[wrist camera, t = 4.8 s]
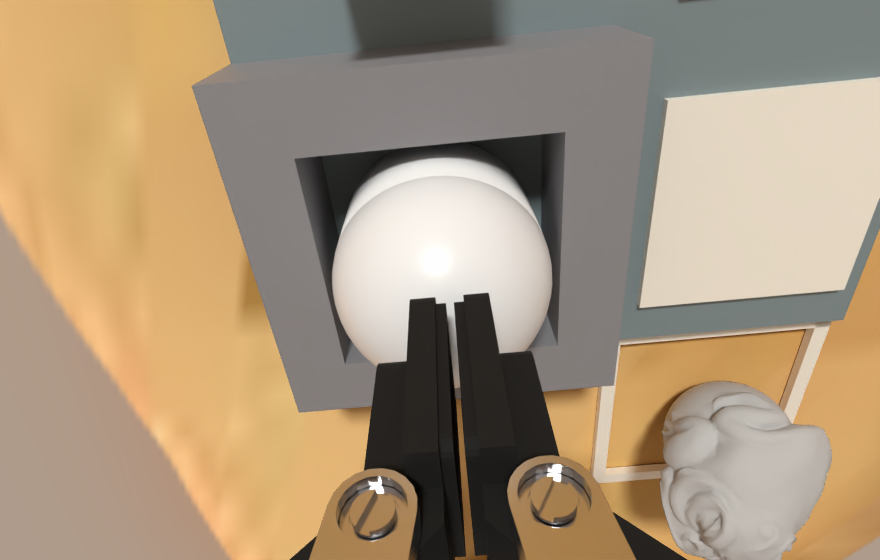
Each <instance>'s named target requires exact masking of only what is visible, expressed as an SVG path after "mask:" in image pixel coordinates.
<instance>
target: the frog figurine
mask: <svg viewBox="0 0 880 560" xmlns="http://www.w3.org/2000/svg"><path fill="white" fill-rule="evenodd" d="M661 431H662V435H663V443H664V447H663V458H664V461H665V462H666V463H667V466H666V467H664V468H663V469H661V470H660V473H661V477H662V479H661V480H660V481H659V483H660V489H661V501H662V506H663V509H664V512H665V516H666V519H667V523H668V526H669V528H670V531H671V534H672V537H673V539H674V541H675V543H676V545H677V546H678V547H679V548H680V549H681V550H682V551H684V552H685V553H687V554H690V555H693V556H698V557H702V558H704V559H707V560H781V559H782V553H783V552H784V551H789V552H790V550H791V549H792V546H793V545H792V544H793V543H794V542H795V541H796V539H797V538H796V537H795V535H794V534H796V533H797V532H798V530H800V529H801V527H802V526H804V525H805V523H806V522H807V520H808V519H809V518H810V514H811V512H812V510H813V508H814V506H815V504H816V503H817V501H818V500H819V498H820V497H821V493H822V492H823V489H824V485H825V481H826V478H827V473H828V471H829V469H830V465H831V461H832V450H831V446H830V442H829V439H828V437H827V435H826V433H825V431H824V429H822V428H820V427H817V426H814V425H797V424H792V423H791V421H790V420H789V418H788V416H787V415H786V414H785V412H784V411H783V410H782V409H781V407H780V406H779V405H778V404H776V403H775V402H774V401H773V400H772V399H771V398H769V397H768V396H767V395H765V394H764V393H762V392H760V391H758V390H757V389H755V388H752V387H750V386H747V385H745V384H741V383H736V382H731V381H712V382H706V383H702V384H699V385H696V386H694V387H692V388H690V389H688V390H687V391H685V392H684V393H683V394H681V395H680V396H679V397H678V398H677V399H676V400H675V401H674V403H673V404H672V405H671V407H670V409H669V410H668V413H667V415H666V418H665V421H664V426H663V430H661Z"/></svg>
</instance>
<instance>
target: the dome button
mask: <svg viewBox="0 0 880 560" xmlns="http://www.w3.org/2000/svg"><path fill="white" fill-rule="evenodd" d="M332 288H333V296H334V302H335V306H336V309H337V312H338V315H339V318H340V321H341V323H342V325H343V327H344V329H345V331H346V333H347V335H348V336H349V338H350V339H351V341H352V342H353V344H354V345H355V346H356V348H357V349H358V350H359V351H360V352H361V354H362V355H363V356H364V357H365V358H366V359H368V360H369V361H370V362H371V363H372V364H374V365H375V366H376V367H377V365H378V363H390V362H402V361H407V341H408V321H409V302H410V299H420V298H431V297H435V298H436V304H440V303H446V309H447V319H448V329H449V338H450V348H451V358H452V367H453V377H454V387H455V388H459V387H460V378H459V365H458V351H457V338H456V325H455V311H454V302H464V299H463V295H466V294H478V293H489V297H490V302H491V308H492V314H493V319H494V325H495V330H496V336H497V342H498V347H499V353H511V352H523V351H526V349H527V348H528V347H529V346H530V344H531V343H532V342H533V340H534V339H535V337H536V335H537V334H538V332H539V330H540V328H541V326H542V324H543V322H544V319H545V317H546V314H547V310H548V307H549V303H550V298H551V292H552V264H551V259H550V254H549V250H548V247H547V243H546V241H545V238H544V235H543V233H542V230H541V228H540V226H539V223H538V221H537V219H536V217H535V214H534V212H533V210H532V207H531V205H530V203H529V200H528V198H527V196H526V193H525V191H524V189H523V187H522V185H521V184H520V182H519V180H518V179H517V177H516V176H515V175H514V173H513V172H512V171H511V170H510V169H509V168H508V167H507V166H506V165H505V164H504V163H503V162H502V161H501V160H499V159H498V158H497V157H495V156H494V155H493V154H491V153H489V152H487V151H485V150H483V149H482V148H479V147H476V146H474V145H471V144H468V143H464V142H459V143H449V144H439V145H429V146H418V147H408V148H399V149H397V150H394V151H392V152H391V153H389V154H387V155H386V156H384V157H383V158H381V159H380V160H379V161H378V162H377V163H375V164H374V165H373V166H372V167H371V168H370V169H369V170H368V171H367V172H366V173H365V175H364V176H363V177H362V179H361V180H360V182H359V183H358V185H357V187H356V189H355V191H354V193H353V195H352V198H351V201H350V204H349V208H348V211H347V214H346V218H345V221H344V224H343V228H342V231H341V234H340V238H339V241H338V244H337V248H336V251H335V256H334V263H333V269H332Z"/></svg>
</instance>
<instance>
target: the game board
mask: <svg viewBox="0 0 880 560" xmlns="http://www.w3.org/2000/svg"><path fill="white" fill-rule="evenodd" d="M213 2H214V6H215V9H216V13H217V16H218V20H219V23H220V27H221V30H222V34H223V37H224V41H225V44H226V48H227V51H228V55H229V58H230V62H231V64H230V65H228V66H227V67H225V68H223V69H221V70H219V71H218V72H216V73H214V74H212V75H210V76H208V77H207V78H205V79H203V80H201V81H199V82H198V83H196V84H194V85H192V89H193V92H194V95H195V98H196V101H197V104H198V107H199V110H200V113H201V116H202V119H203V122H204V125H205V128H206V131H207V134H208V137H209V140H210V143H211V146H212V149H213V152H214V155H215V158H216V161H217V164H218V168H219V171H220V174H221V177H222V180H223V183H224V186H225V189H226V192H227V195H228V198H229V201H230V204H231V207H232V210H233V213H234V216H235V219H236V222H237V225H238V228H239V231H240V234H241V237H242V240H243V243H244V247H245V250H246V253H247V256H248V259H249V262H250V265H251V268H252V271H253V274H254V277H255V280H256V283H257V286H258V289H259V292H260V295H261V298H262V301H263V304H264V307H265V310H266V313H267V316H268V319H269V323H270V326H271V329H272V332H273V335H274V338H275V341H276V344H277V347H278V350H279V353H280V356H281V359H282V362H283V365H284V368H285V371H286V374H287V377H288V380H289V383H290V386H291V389H292V392H293V395H294V398H295V402H296V405H297V408H298V411H299V413H300V412H311V411H323V410H335V409H346V408H358V407H369V406H372V401H373V393H374V384H375V376H376V369H377V367H376V366H375V365H374V364H372V363H371V362H370V361H369V360H368V359H366V358H365V357H364V356H363V355H362V354H361V352H360V351H359V350H358V349H357V348H356V346H355V345H354V344H353V342H352V341H351V339H350V338H349V336H348V335H347V333H346V331H345V329H344V327H343V325H342V323H341V321H340V318H339V315H338V312H337V309H336V306H335V302H334V296H333V288H332V269H333V263H334V256H335V251H336V248H337V244H338V241H339V238H340V234H341V231H342V228H343V224H344V221H345V218H346V214H347V211H348V208H349V204H350V201H351V198H352V195H353V193H354V191H355V189H356V187H357V185H358V183H359V182H360V180H361V179H362V177H363V176H364V175H365V173H366V172H367V171H368V170H369V169H370V168H371V167H372V166H373V165H374V164H375V163H377V162H378V161H379V160H380V159H381V158H383V157H384V156H386V155H387V154H389V153H391V152H392V151H394V150H397V149H399V148H408V147H418V146H429V145H439V144H449V143H459V142H464V143H468V144H471V145H474V146H476V147H479V148H482V149H483V150H485V151H487V152H489V153H491V154H493V155H494V156H495V157H497V158H498V159H499V160H501V161H502V162H503V163H504V164H505V165H506V166H507V167H508V168H509V169H510V170H511V171H512V172H513V173H514V175H515V176H516V177H517V179H518V180H519V182H520V184H521V185H522V187H523V189H524V191H525V193H526V196H527V198H528V200H529V203H530V205H531V207H532V210H533V212H534V214H535V217H536V219H537V221H538V223H539V226H540V228H541V230H542V233H543V235H544V238H545V241H546V243H547V247H548V250H549V254H550V259H551V264H552V292H551V298H550V303H549V307H548V310H547V314H546V317H545V319H544V322H543V324H542V326H541V328H540V330H539V332H538V334H537V335H536V337H535V339H534V340H533V342H532V343H531V344H530V346H529V347H528V348H527V349H526V351H531V352H532V354H533V357H534V360H535V364H536V368H537V372H538V376H539V380H540V383H541V387H542V391H543V392H544V391H556V390H567V389H579V388H591V387H599V389H598V399H597V410H596V420H595V431H594V441H593V452H592V462H591V472H590V473H591V474H592V476H593V477H594V478H595V480H596V481H597V483H609V482H621V481H633V480H645V479H658V478H662V477H661V473H660V470H661V469H663V468H664V467H666V466H667V463H665V464H652V465H640V466H628V467H616V468H606V462H607V454H608V445H609V437H610V428H611V420H612V412H613V403H614V395H615V386H616V378H617V370H618V361H619V353H620V345H626V344H637V343H649V342H660V341H671V340H683V339H694V338H706V337H717V336H728V335H740V334H751V333H763V332H774V331H785V330H797V329H806V331H805V334H804V337H803V340H802V343H801V346H800V348H799V351H798V354H797V357H796V360H795V363H794V365H793V368H792V371H791V374H790V377H789V379H788V382H787V385H786V388H785V391H784V394H783V396H782V399H781V402H780V405H779V406H780V407H781V409H782V410H783V411H784V412H785V414H786V415H787V416H788V418H789V420H790V421H791V423H792V424H793V421H794V418H795V416H796V413H797V411H798V408H799V405H800V403H801V400H802V398H803V395H804V392H805V390H806V387H807V384H808V382H809V379H810V377H811V374H812V371H813V369H814V366H815V364H816V361H817V358H818V356H819V353H820V351H821V348H822V345H823V343H824V340H825V337H826V335H827V332H828V330H829V327H830V324H831V322H832V321H836V320H843V319H844V317H845V314H846V312H847V309H848V307H849V304H850V302H851V299H852V297H853V294H854V292H855V289H856V287H857V284H858V282H859V279H860V277H861V274H862V272H863V269H864V267H865V264H866V261H867V259H868V256H869V254H870V251H871V249H872V246H873V244H874V241H875V239H876V236H877V234H878V231H879V229H880V0H213ZM455 397H456V399H461V391H460V387H459V388H455Z"/></svg>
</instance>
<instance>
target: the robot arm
mask: <svg viewBox="0 0 880 560" xmlns="http://www.w3.org/2000/svg"><path fill="white" fill-rule="evenodd" d="M463 299H464V302H454V311H455V325H456V338H457V351H458V365H459V378H460V391H461V405H462V418H463V431H464V444H465V456H466V466H467V476H468V487H469V497H470V507H471V517H472V528H473V538H474V548H475V556H479V555H487V560H687V559H685V558H684V557H682V556H681V555H679V554H677V553H676V552H674V551H673V550H671V549H670V548H668V547H667V546H665V545H663V544H662V543H660V542H659V541H657V540H656V539H654V538H653V537H651V536H649V535H648V534H646V533H645V532H643V531H642V530H640V529H639V528H637V527H635V526H634V525H632V524H631V523H629V522H628V521H626V520H625V519H623V518H621V517H620V516H618V515H617V514H615V513H614V512H612V510H611V508H610V506H609V504H608V502H607V500H606V498H605V496H604V494H603V492H602V490H601V488H600V486H599V484H598V483H597V481H596V480H595V478H594V477H593V476H592V474H591V473H590V472H589V471H588V470H586V469H585V468H584V467H583V466H582V465H580V464H579V463H577V462H574V461H572V460H570V459H568V458H565V457H560V456H559V453H558V449H557V445H556V441H555V437H554V433H553V430H552V426H551V422H550V418H549V414H548V410H547V406H546V403H545V399H544V395H543V391H542V387H541V383H540V380H539V376H538V372H537V368H536V364H535V360H534V357H533V354H532V352H531V351H523V352H511V353H499V347H498V342H497V336H496V330H495V325H494V319H493V314H492V308H491V302H490V297H489V293H478V294H466V295H463ZM465 556H466V551H465V535H464V519H463V503H462V488H461V472H460V456H459V440H458V424H457V409H456V397H455V387H454V377H453V367H452V358H451V348H450V338H449V329H448V319H447V309H446V303H440V304H436V298H435V297H431V298H420V299H410V302H409V321H408V341H407V361H402V362H390V363H378V365H377V369H376V376H375V384H374V393H373V401H372V409H371V417H370V426H369V434H368V442H367V450H366V459H365V467H364V471H362V472H359V473H357V474H355V475H353V476H351V477H350V478H348V479H347V480H345V481H344V482H343V483H342V484H341V485H340V486H339V487H338V488H337V489H336V491H335V492H334V493H333V495H332V497H331V499H330V501H329V503H328V505H327V508H326V511H325V514H324V517H323V520H322V523H321V526H320V529H319V532H318V535H317V536H316V537H315V538H314V539H313V540H312V541H310V542H309V543H308V544H307V545H306V546H305V547H304V548H302V549H301V550H300V551H299V552H298V553H297V554H296V555H294V556H293V557H292V558H291V559H290V560H455V557H465Z"/></svg>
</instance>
